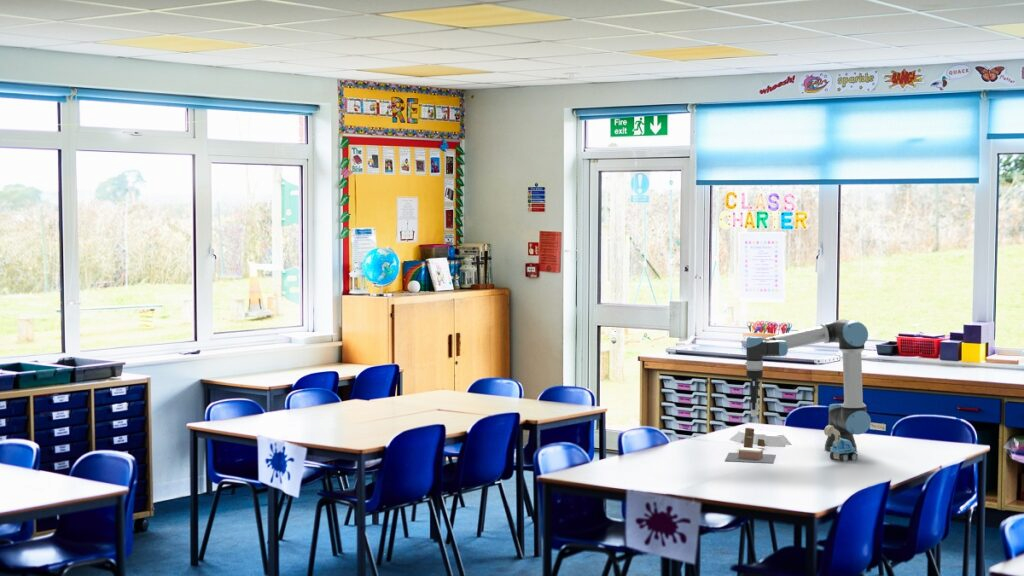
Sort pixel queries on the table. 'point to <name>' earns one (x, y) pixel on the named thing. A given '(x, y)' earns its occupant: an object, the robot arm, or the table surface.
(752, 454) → the card deck
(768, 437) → the paper sheets
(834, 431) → the toy excavator
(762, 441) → the wooden block set
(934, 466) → the table surface
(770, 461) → the rubber mat
